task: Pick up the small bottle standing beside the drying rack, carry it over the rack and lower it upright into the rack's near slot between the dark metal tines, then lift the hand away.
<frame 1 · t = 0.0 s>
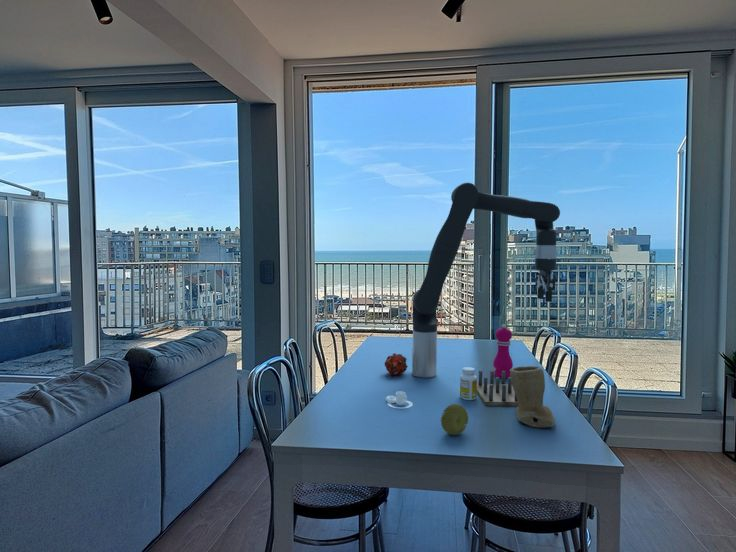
hand: (544, 300, 171), 29 cm above the table, tool pointing down, fingers open, 8 cm apart
supplement bottle: (468, 398, 148), on the table
pepper mill: (502, 376, 174), on the table
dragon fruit: (395, 374, 175), on the table
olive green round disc: (454, 434, 120), on the table
tan boot vase: (530, 419, 130), on the table
drying rack: (503, 396, 150), on the table
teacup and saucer: (401, 402, 145), on the table
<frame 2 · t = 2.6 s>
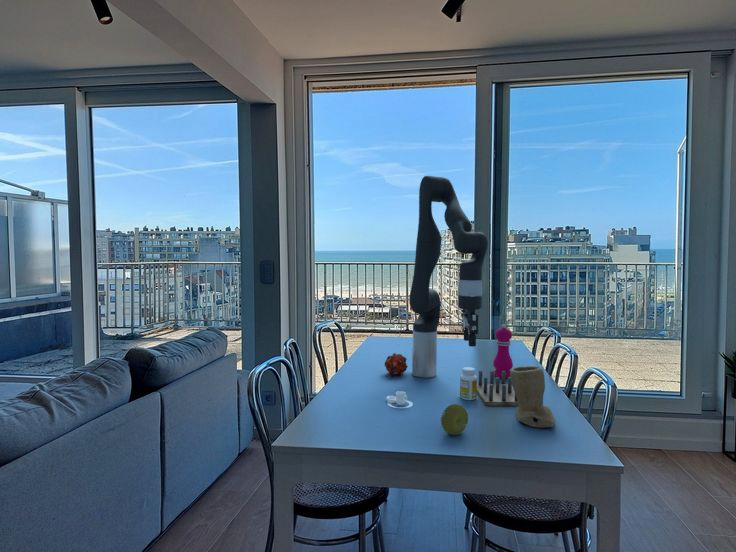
hand: (469, 343, 147), 18 cm above the table, tool pointing down, fingers open, 8 cm apart
nothing on the table moved.
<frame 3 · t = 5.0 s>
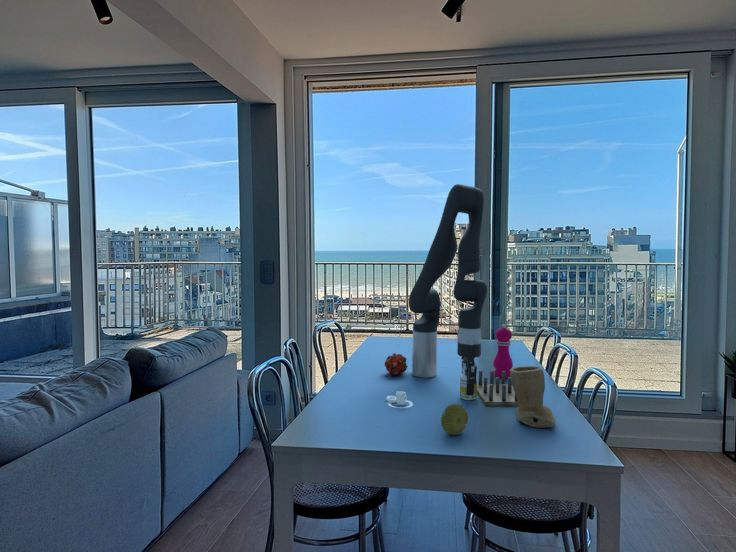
hand: (468, 391, 148), 2 cm above the table, tool pointing down, fingers closed on supplement bottle, 5 cm apart
supplement bottle: (468, 398, 148), on the table, touching gripper
everything else where it was.
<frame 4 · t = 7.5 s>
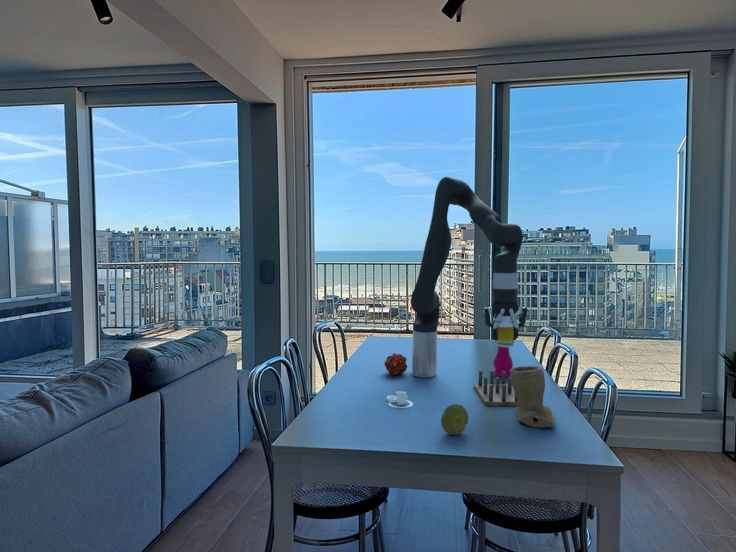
hand: (504, 339, 144), 20 cm above the table, tool pointing down, fingers closed on supplement bottle, 5 cm apart
supplement bottle: (504, 346, 144), point 18 cm above the table, touching gripper
everything else where it was.
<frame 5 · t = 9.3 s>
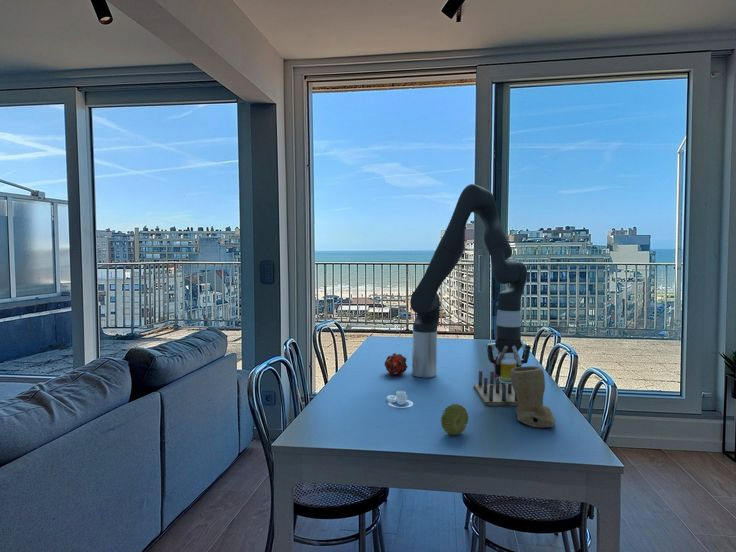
hand: (507, 375, 146), 8 cm above the table, tool pointing down, fingers closed on supplement bottle, 5 cm apart
supplement bottle: (507, 382, 146), point 6 cm above the table, touching gripper
everything else where it was.
when the fingers open (5 cm above the table, at t = 10.4 s): supplement bottle drops 1 cm, resting on drying rack.
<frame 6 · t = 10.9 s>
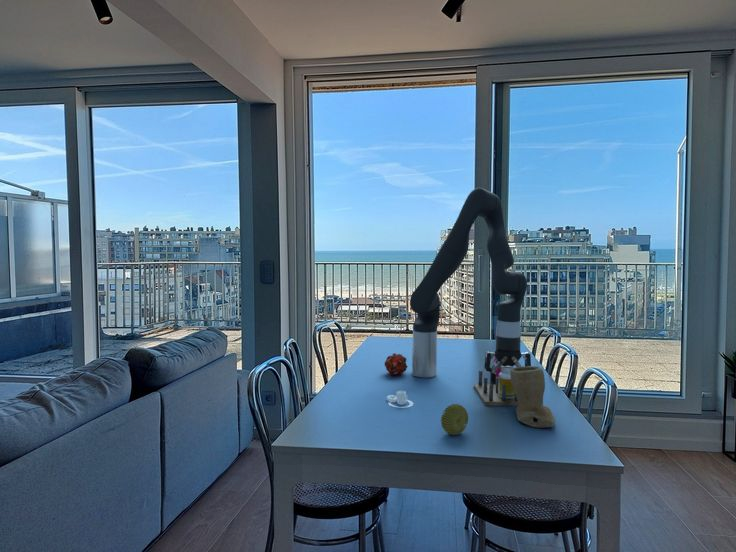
hand: (507, 384, 146), 5 cm above the table, tool pointing down, fingers open, 8 cm apart
supplement bottle: (506, 397, 146), point 1 cm above the table, touching drying rack
everything else where it was.
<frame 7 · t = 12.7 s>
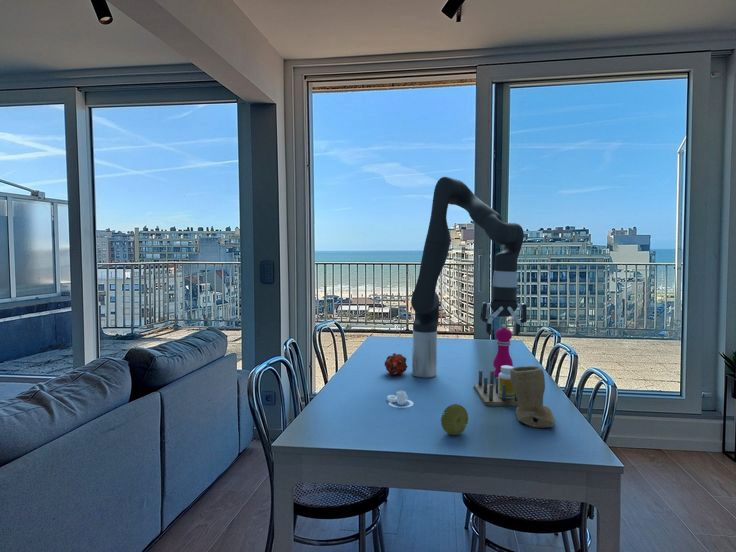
hand: (502, 334, 146), 21 cm above the table, tool pointing down, fingers open, 8 cm apart
nothing on the table moved.
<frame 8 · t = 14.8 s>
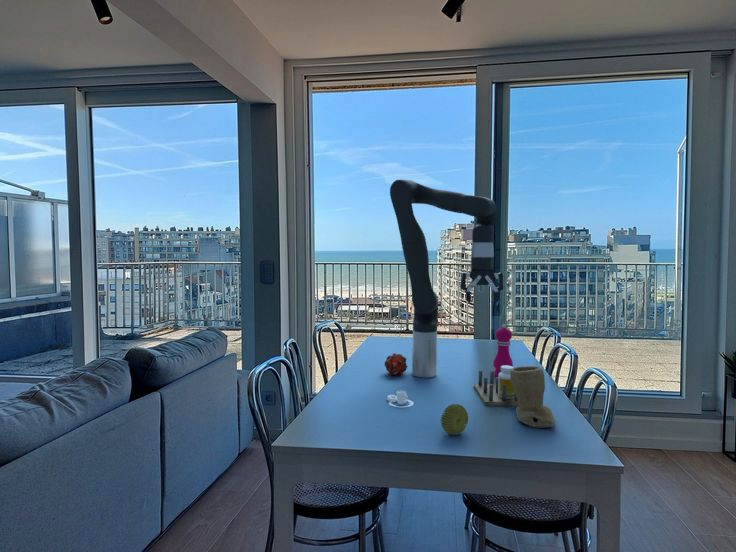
hand: (481, 302, 157), 30 cm above the table, tool pointing down, fingers open, 8 cm apart
nothing on the table moved.
at the end: supplement bottle inside the target area on the drying rack (0.0 cm from its centre), point 1.0 cm above the drying rack's base; supplement bottle tilted 0°; the gripper is holding nothing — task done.
